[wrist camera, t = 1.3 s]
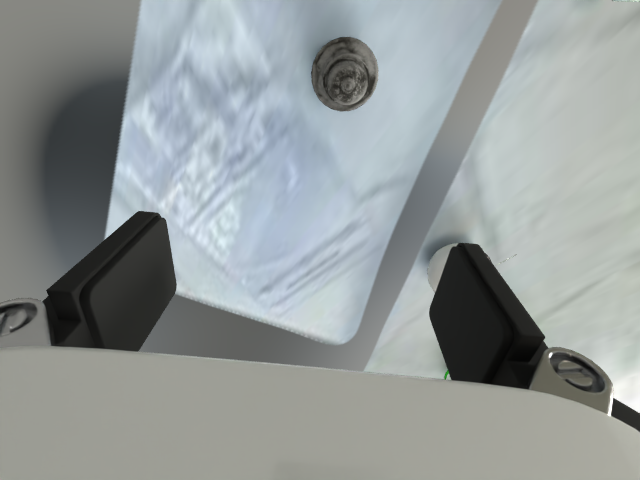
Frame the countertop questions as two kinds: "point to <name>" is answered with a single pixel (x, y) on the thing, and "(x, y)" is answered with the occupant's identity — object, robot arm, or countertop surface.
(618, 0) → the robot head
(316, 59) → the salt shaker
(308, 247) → the countertop surface
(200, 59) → the countertop surface
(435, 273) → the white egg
